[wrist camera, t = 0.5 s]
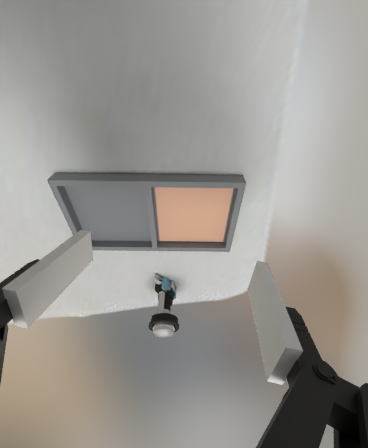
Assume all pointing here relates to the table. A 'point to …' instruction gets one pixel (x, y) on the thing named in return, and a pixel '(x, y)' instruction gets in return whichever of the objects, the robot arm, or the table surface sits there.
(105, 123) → the table surface
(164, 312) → the push button
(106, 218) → the sorting tray
